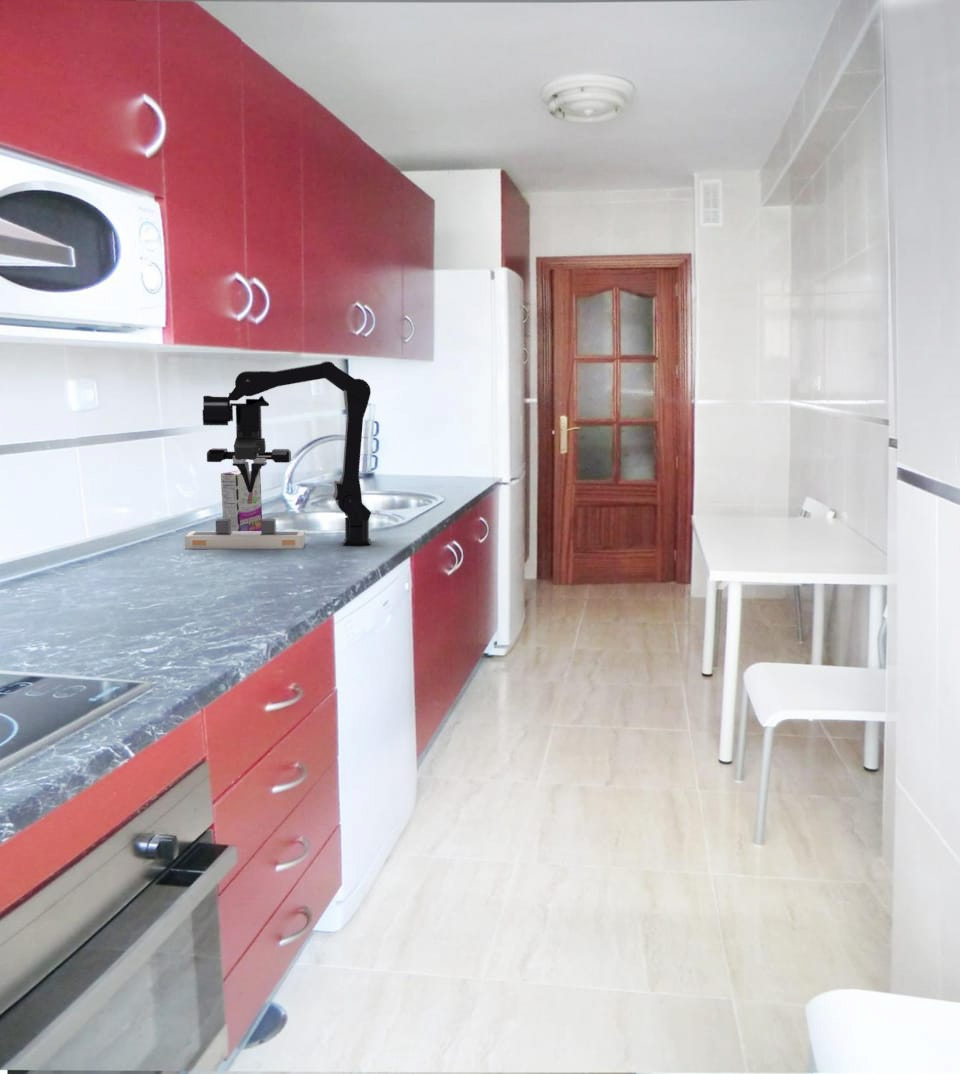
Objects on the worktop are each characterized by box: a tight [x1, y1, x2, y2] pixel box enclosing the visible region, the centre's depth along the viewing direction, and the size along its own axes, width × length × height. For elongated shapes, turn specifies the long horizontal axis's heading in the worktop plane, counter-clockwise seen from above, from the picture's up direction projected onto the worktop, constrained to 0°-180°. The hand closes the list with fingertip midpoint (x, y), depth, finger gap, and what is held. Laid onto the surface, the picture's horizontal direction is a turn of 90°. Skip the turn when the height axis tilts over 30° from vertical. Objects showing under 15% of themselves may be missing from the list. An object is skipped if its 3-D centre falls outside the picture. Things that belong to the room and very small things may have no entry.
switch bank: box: [184, 530, 306, 550], centre depth 220 cm, size 7×27×3 cm, turn 96°
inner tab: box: [261, 518, 277, 533], centre depth 220 cm, size 3×3×3 cm
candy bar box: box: [220, 468, 263, 531], centre depth 234 cm, size 11×5×16 cm, turn 162°
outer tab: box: [215, 518, 231, 533], centre depth 219 cm, size 3×3×3 cm
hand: (250, 492), depth 219 cm, fingers closed
